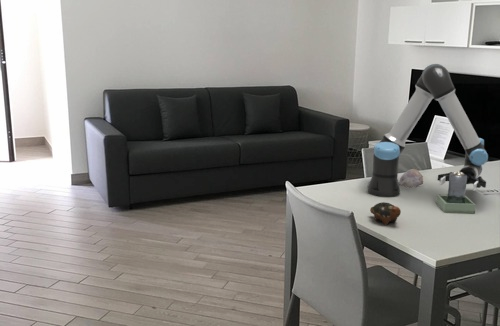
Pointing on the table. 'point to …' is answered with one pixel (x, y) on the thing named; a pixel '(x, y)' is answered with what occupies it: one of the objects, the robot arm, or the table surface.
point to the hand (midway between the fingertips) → (457, 184)
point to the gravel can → (457, 187)
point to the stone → (411, 178)
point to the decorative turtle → (385, 212)
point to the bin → (455, 205)
